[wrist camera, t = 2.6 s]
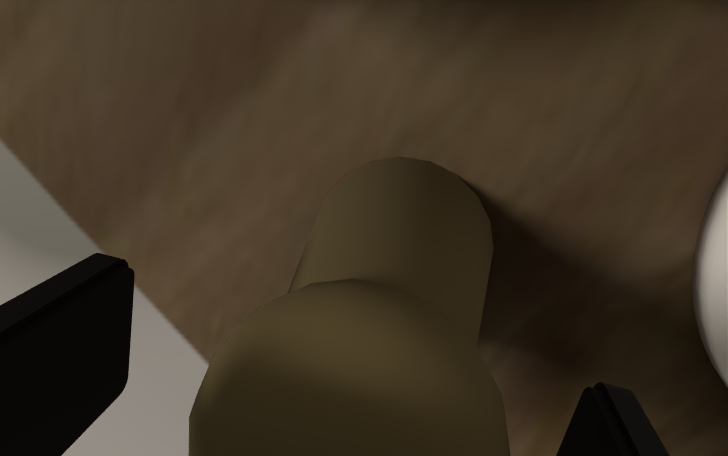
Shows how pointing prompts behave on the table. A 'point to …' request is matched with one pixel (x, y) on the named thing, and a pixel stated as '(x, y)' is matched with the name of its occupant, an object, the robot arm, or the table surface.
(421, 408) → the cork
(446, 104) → the table surface
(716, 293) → the plate
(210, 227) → the table surface
